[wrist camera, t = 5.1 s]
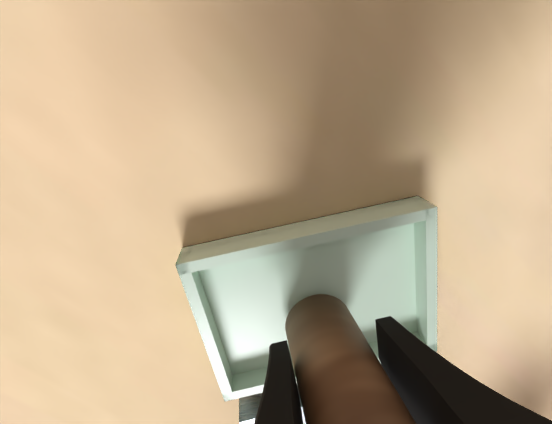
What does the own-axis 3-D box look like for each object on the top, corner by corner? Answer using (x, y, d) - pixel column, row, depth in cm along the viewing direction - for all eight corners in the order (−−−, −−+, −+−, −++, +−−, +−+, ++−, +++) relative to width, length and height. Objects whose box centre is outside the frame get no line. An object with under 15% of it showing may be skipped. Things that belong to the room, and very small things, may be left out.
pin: (351, 280, 14) (507, 494, 6) (361, 347, 15) (506, 610, 7) (271, 299, 14) (316, 549, 6) (287, 365, 15) (344, 660, 7)
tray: (417, 195, 14) (437, 206, 13) (421, 330, 17) (436, 351, 16) (181, 247, 14) (175, 264, 13) (226, 376, 17) (224, 401, 15)
